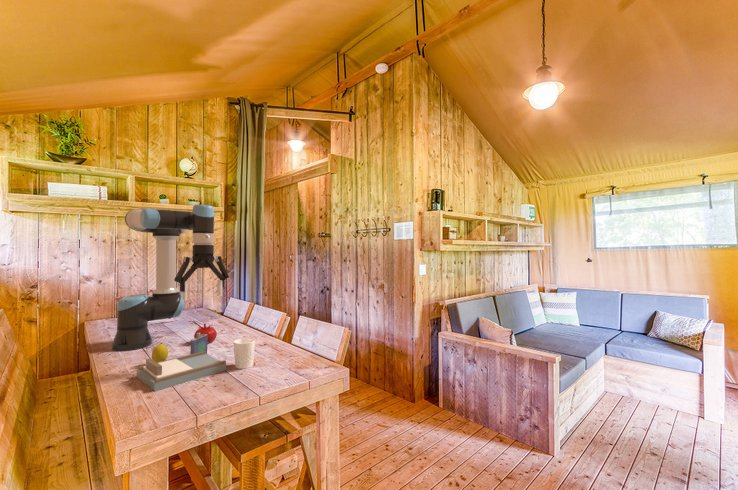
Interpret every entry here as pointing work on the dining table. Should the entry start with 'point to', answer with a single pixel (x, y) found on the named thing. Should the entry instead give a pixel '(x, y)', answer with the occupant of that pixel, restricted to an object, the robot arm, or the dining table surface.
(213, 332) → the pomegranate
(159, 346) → the lemon
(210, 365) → the sliding lid box
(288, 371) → the dining table surface
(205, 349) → the blue-grey curved piece
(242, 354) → the white cup
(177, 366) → the slide cover
